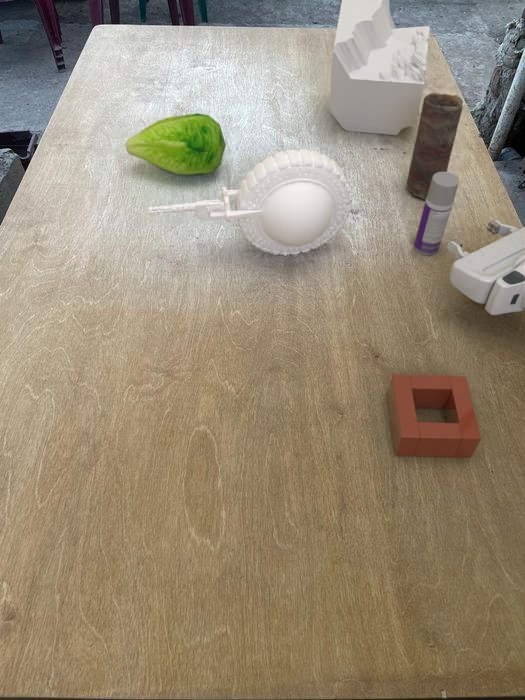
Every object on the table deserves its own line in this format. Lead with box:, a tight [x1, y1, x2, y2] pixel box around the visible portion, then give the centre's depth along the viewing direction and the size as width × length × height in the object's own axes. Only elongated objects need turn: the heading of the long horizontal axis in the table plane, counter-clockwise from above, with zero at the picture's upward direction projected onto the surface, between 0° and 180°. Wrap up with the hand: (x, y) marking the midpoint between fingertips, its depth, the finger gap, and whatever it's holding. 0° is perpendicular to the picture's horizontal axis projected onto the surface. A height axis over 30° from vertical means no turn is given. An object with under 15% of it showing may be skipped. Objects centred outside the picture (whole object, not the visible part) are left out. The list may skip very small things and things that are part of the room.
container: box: [413, 171, 460, 256], centre depth 112 cm, size 5×5×15 cm
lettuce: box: [125, 112, 226, 176], centre depth 128 cm, size 14×20×12 cm
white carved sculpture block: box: [328, 0, 431, 136], centre depth 137 cm, size 20×16×25 cm
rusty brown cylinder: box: [406, 92, 464, 201], centre depth 121 cm, size 8×7×20 cm
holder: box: [386, 373, 482, 458], centre depth 90 cm, size 11×11×5 cm
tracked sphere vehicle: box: [147, 148, 353, 257], centre depth 108 cm, size 35×14×20 cm, turn 100°
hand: (471, 233), depth 106 cm, fingers open, 8 cm apart
